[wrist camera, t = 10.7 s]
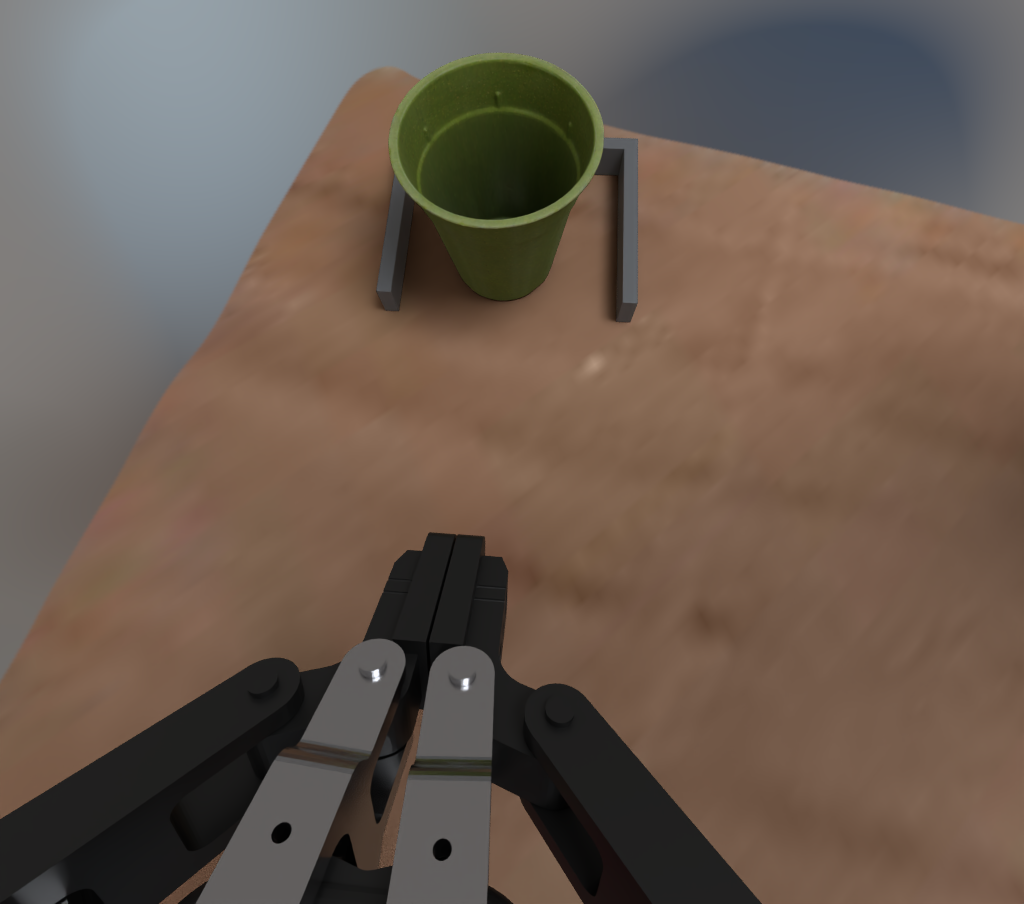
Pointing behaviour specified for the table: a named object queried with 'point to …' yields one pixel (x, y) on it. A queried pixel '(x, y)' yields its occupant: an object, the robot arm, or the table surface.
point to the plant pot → (497, 163)
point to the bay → (614, 161)
